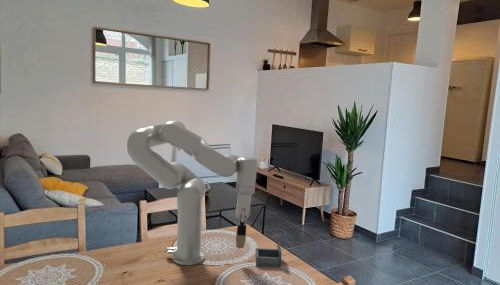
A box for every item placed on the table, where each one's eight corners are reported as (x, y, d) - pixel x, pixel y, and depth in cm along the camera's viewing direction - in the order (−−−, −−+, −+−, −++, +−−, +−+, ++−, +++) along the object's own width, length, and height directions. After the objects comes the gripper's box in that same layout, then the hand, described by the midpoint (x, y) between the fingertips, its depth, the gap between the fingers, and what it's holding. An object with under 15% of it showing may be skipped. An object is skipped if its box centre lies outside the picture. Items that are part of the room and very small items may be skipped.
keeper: (255, 265, 142) (256, 251, 141) (255, 256, 150) (256, 242, 150) (280, 267, 142) (281, 252, 141) (278, 257, 151) (279, 243, 150)
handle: (247, 250, 141) (251, 214, 139) (231, 248, 141) (234, 212, 139) (248, 245, 146) (251, 210, 144) (232, 243, 146) (235, 208, 144)
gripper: (236, 182, 149) (232, 224, 151) (235, 193, 132) (230, 240, 134) (254, 184, 149) (250, 226, 151) (255, 194, 132) (250, 241, 134)
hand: (241, 232), depth 142 cm, fingers closed on handle, 3 cm apart
